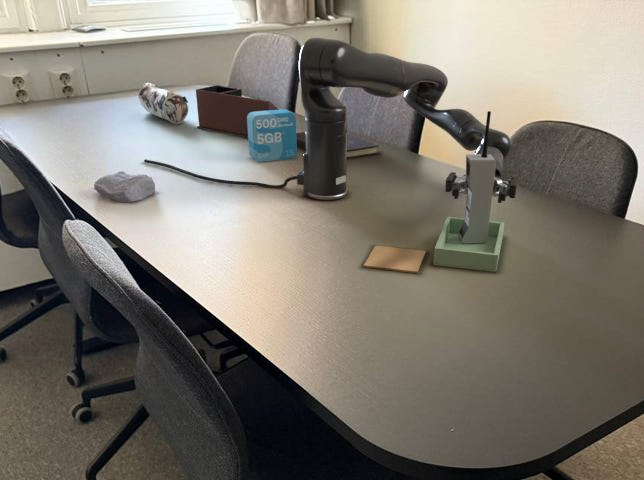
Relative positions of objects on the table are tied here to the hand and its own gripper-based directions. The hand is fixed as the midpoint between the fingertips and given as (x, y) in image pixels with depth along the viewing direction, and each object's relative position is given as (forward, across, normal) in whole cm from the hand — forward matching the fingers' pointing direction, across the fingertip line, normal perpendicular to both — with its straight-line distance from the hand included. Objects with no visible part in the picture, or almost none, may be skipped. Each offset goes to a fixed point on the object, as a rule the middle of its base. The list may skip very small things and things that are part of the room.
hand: (477, 196), depth 138 cm
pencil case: (-77, +107, -9) cm, 132 cm away
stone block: (-4, +80, -9) cm, 81 cm away
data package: (-43, +58, -9) cm, 73 cm away
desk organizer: (-67, +76, -9) cm, 102 cm away
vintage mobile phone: (+2, 0, -9) cm, 9 cm away
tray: (+7, 0, -9) cm, 11 cm away
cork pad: (+15, +13, -9) cm, 22 cm away
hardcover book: (-58, +46, -9) cm, 75 cm away
